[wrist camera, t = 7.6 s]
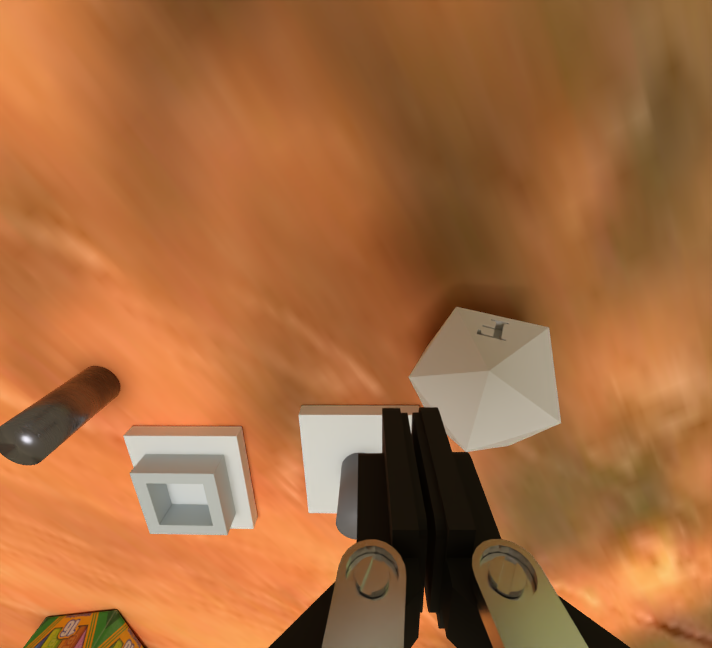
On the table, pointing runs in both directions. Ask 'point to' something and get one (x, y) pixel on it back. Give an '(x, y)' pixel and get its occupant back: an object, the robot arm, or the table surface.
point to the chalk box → (84, 632)
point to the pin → (57, 416)
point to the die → (489, 379)
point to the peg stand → (339, 455)
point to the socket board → (192, 478)
